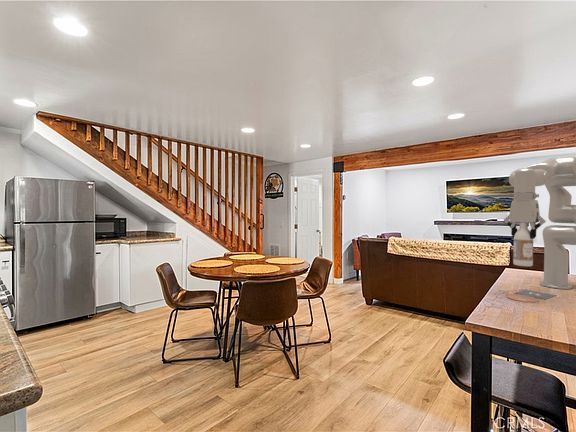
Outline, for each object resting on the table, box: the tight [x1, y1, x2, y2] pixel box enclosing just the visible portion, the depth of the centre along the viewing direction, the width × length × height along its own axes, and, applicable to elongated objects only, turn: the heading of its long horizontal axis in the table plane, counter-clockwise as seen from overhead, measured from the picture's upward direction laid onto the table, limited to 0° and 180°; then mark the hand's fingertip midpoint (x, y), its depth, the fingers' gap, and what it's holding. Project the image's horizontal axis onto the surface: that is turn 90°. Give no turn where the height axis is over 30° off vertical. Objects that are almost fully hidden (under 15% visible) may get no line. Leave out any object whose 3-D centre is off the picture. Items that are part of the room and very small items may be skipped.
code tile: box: [514, 289, 557, 300], centre depth 145 cm, size 12×12×1 cm
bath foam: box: [512, 223, 534, 267], centre depth 138 cm, size 7×7×20 cm
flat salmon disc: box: [506, 293, 539, 303], centre depth 138 cm, size 11×11×1 cm
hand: (523, 237), depth 138 cm, fingers closed on bath foam, 6 cm apart
